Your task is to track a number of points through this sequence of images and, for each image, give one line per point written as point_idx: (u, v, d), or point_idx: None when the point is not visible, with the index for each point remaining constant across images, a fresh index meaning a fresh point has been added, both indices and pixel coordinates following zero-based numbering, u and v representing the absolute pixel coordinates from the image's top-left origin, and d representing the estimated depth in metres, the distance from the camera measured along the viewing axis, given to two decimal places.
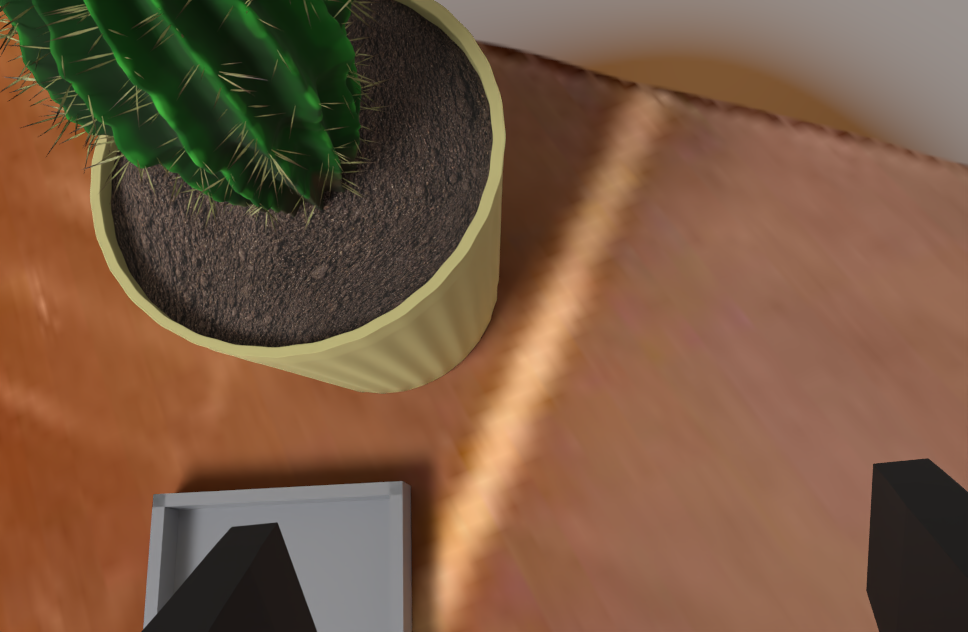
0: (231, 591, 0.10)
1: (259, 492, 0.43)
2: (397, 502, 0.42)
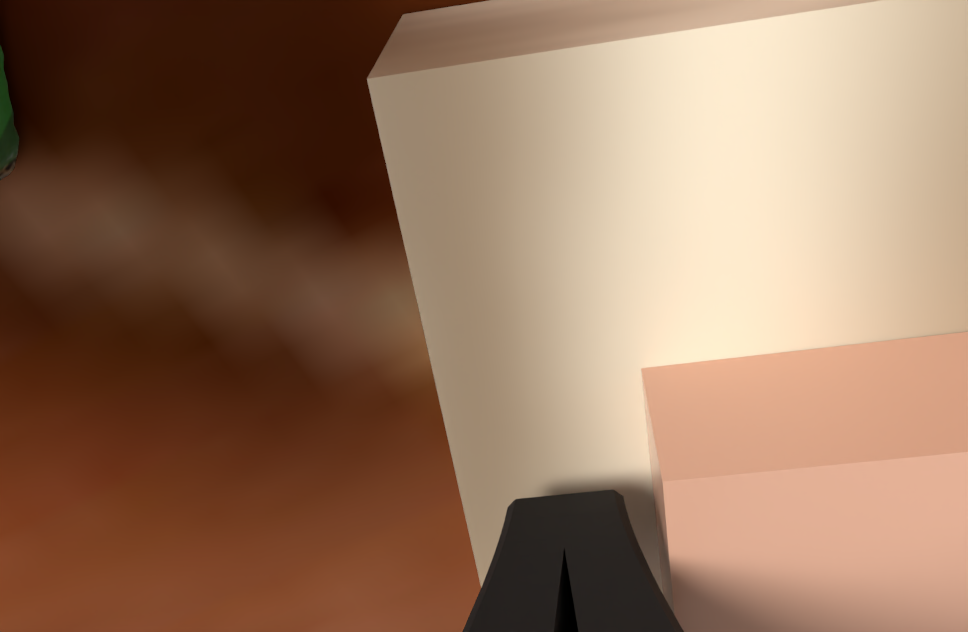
0: (559, 562, 0.09)
1: None
2: None
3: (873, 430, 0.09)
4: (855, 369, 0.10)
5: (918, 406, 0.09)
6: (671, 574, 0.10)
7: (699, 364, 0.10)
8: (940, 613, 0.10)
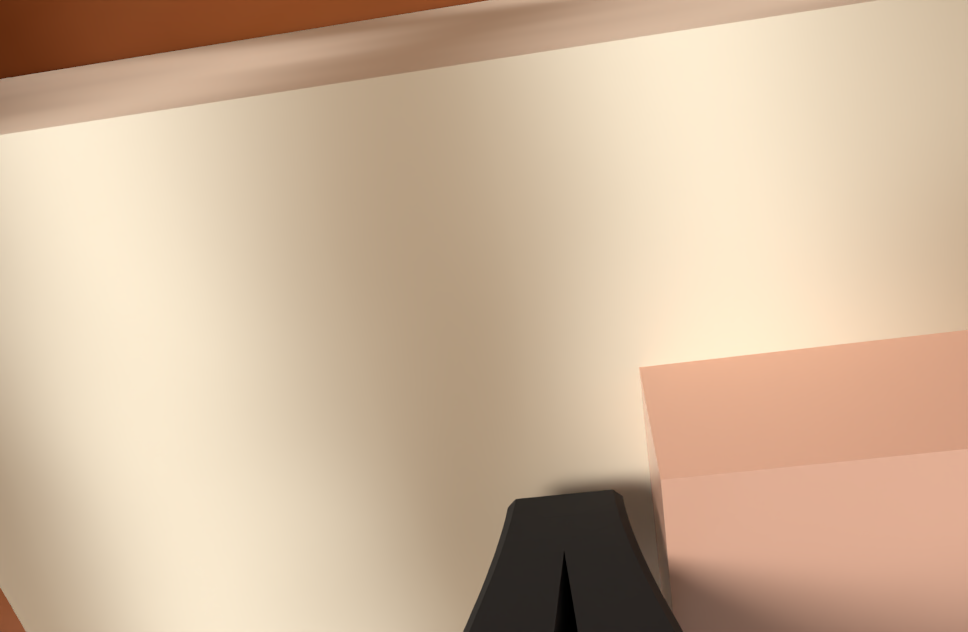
0: (560, 562, 0.09)
1: None
2: None
3: (869, 428, 0.09)
4: (852, 368, 0.10)
5: (915, 404, 0.09)
6: (669, 573, 0.10)
7: (698, 363, 0.11)
8: (938, 610, 0.10)
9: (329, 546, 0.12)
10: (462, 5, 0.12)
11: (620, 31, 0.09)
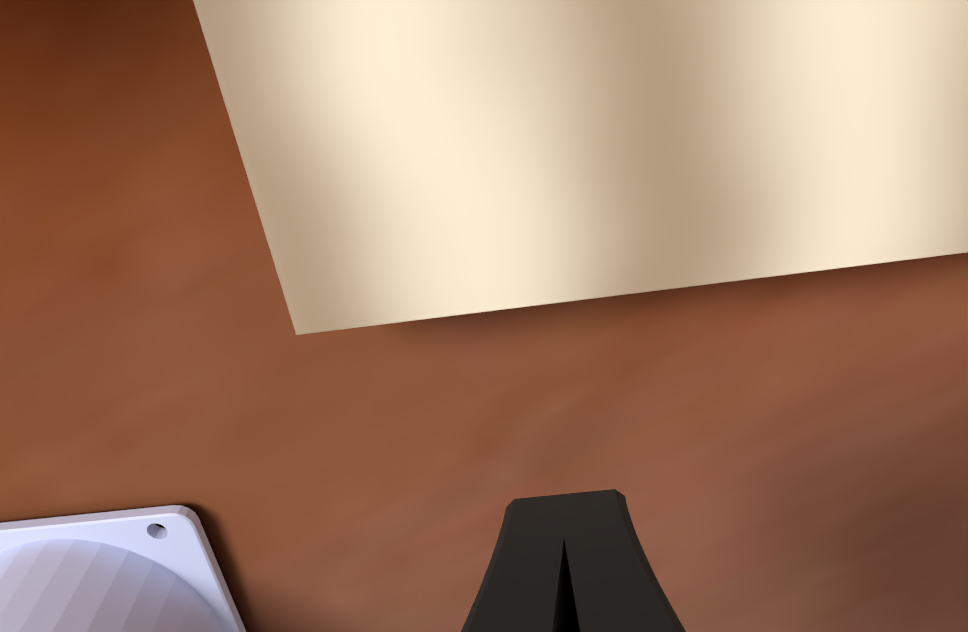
0: (558, 563, 0.09)
1: None
2: None
3: None
4: None
5: None
6: None
7: None
8: None
9: None
10: None
11: None
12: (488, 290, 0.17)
